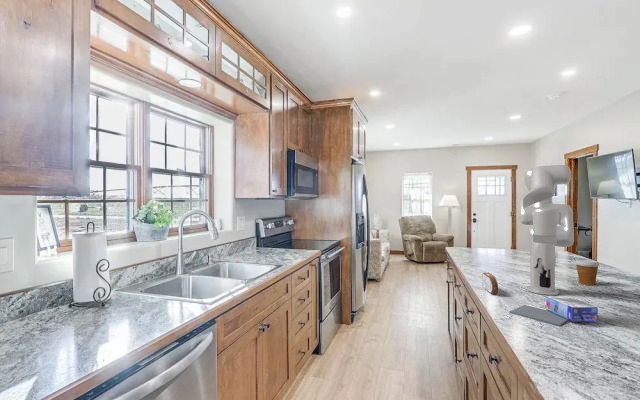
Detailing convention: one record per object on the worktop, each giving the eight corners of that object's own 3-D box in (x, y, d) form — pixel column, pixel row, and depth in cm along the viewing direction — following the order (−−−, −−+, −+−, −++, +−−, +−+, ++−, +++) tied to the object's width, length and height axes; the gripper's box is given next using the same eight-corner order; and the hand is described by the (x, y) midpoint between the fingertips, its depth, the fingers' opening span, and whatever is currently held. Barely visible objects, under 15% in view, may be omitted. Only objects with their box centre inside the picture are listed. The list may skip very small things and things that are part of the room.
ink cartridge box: (545, 310, 121) (577, 324, 106) (545, 296, 121) (577, 308, 106) (569, 310, 121) (605, 324, 107) (569, 296, 121) (604, 308, 107)
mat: (525, 305, 128) (525, 304, 128) (573, 317, 115) (573, 315, 115) (509, 312, 120) (509, 311, 120) (559, 326, 107) (559, 324, 107)
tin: (498, 296, 141) (498, 278, 141) (491, 296, 142) (491, 277, 142) (487, 287, 156) (487, 270, 156) (481, 287, 156) (481, 270, 156)
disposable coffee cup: (571, 281, 167) (570, 259, 167) (590, 281, 165) (590, 259, 165) (583, 286, 157) (583, 262, 157) (604, 286, 156) (604, 262, 156)
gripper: (541, 237, 127) (541, 282, 127) (525, 240, 119) (525, 288, 118) (563, 239, 121) (563, 286, 121) (548, 242, 112) (549, 292, 112)
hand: (545, 286), depth 120 cm, fingers closed
